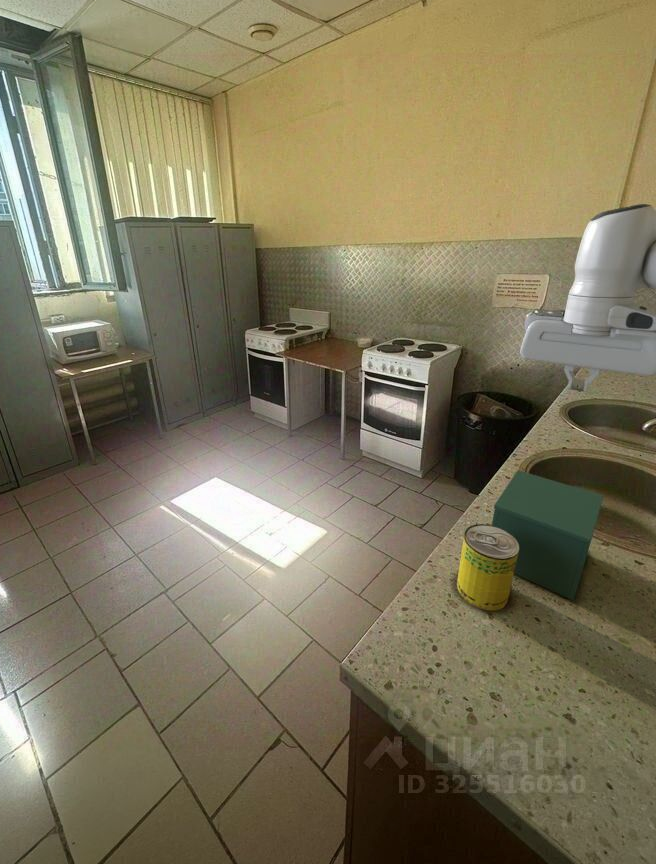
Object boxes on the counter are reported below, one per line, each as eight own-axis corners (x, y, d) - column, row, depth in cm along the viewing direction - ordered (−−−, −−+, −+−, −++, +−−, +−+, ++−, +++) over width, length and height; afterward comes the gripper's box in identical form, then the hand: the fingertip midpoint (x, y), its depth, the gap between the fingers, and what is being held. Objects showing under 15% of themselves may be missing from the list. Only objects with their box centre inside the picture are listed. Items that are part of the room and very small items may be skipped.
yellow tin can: (512, 615, 70) (524, 563, 66) (458, 604, 73) (466, 552, 69) (503, 577, 78) (513, 528, 74) (455, 568, 81) (462, 520, 77)
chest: (573, 600, 73) (591, 540, 68) (485, 560, 83) (495, 505, 78) (586, 553, 84) (602, 499, 79) (507, 523, 94) (517, 473, 89)
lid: (590, 543, 67) (591, 540, 67) (493, 508, 77) (494, 504, 77) (602, 499, 79) (603, 495, 78) (517, 472, 89) (517, 469, 88)
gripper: (522, 310, 71) (509, 383, 76) (677, 320, 58) (649, 407, 63) (531, 306, 75) (518, 375, 80) (676, 314, 62) (650, 396, 67)
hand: (577, 389), depth 71 cm, fingers closed
